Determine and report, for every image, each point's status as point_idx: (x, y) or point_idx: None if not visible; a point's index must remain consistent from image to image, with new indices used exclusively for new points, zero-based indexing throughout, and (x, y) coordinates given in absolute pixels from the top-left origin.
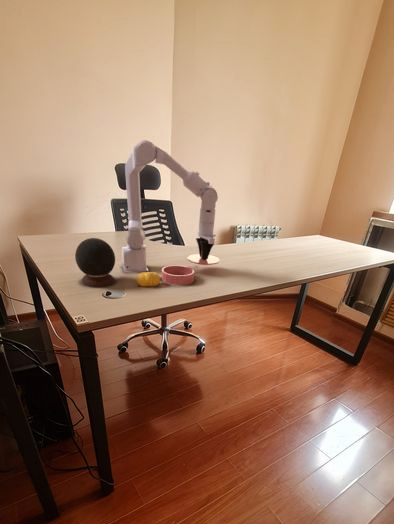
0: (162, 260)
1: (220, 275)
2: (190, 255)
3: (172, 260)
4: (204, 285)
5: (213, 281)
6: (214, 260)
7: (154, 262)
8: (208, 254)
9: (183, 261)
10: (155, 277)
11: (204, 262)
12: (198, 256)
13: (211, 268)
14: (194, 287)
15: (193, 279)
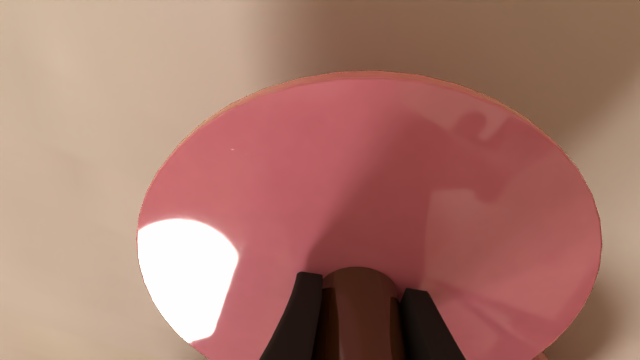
0: (20, 310)
1: (526, 57)
2: (200, 350)
3: (3, 259)
4: (619, 301)
5: (609, 212)
6: (499, 214)
7: (77, 355)
8: (456, 355)
9: (13, 197)
10: None
11: (501, 347)
12: (249, 303)
13: (257, 27)
14: (596, 354)
15: (539, 357)
